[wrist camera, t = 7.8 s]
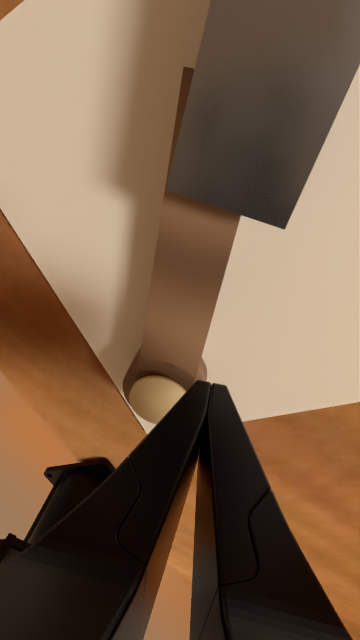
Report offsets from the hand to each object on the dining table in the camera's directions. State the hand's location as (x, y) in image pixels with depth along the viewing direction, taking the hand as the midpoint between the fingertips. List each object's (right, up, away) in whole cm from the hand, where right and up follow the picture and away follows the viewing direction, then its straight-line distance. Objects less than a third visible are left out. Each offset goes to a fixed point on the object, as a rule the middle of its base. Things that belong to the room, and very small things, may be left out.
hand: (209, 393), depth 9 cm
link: (0, +4, +7) cm, 8 cm away
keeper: (+2, +11, +2) cm, 12 cm away
